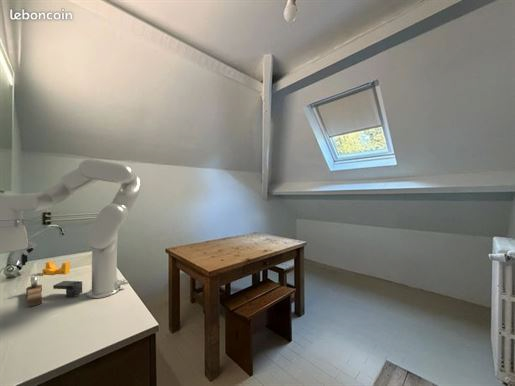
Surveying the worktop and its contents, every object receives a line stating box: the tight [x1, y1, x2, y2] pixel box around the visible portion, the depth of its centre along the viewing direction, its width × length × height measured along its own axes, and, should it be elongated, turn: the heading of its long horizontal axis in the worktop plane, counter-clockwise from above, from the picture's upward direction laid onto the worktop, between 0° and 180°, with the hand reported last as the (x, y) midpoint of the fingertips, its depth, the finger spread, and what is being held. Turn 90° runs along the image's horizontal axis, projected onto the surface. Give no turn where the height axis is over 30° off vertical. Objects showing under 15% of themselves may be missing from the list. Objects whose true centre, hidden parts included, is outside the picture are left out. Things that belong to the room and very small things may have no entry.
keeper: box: [52, 280, 83, 299], centre depth 99 cm, size 9×5×5 cm, turn 86°
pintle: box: [30, 276, 38, 287], centre depth 100 cm, size 2×2×4 cm
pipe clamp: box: [42, 260, 71, 276], centre depth 123 cm, size 12×4×6 cm, turn 85°
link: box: [25, 284, 43, 308], centre depth 95 cm, size 18×5×2 cm, turn 46°
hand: (9, 267), depth 89 cm, fingers open, 7 cm apart
